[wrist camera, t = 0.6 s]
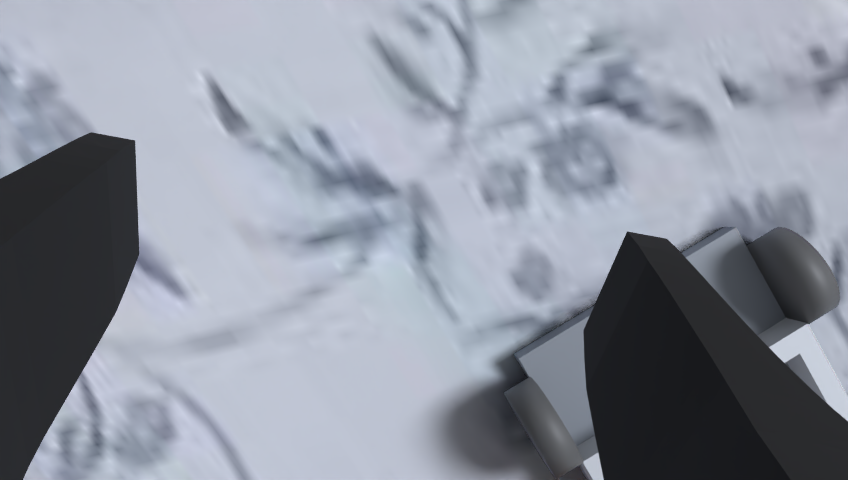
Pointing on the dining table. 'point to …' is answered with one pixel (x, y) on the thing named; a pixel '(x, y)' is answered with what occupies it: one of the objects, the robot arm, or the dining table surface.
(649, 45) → the dining table surface
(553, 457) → the chassis
